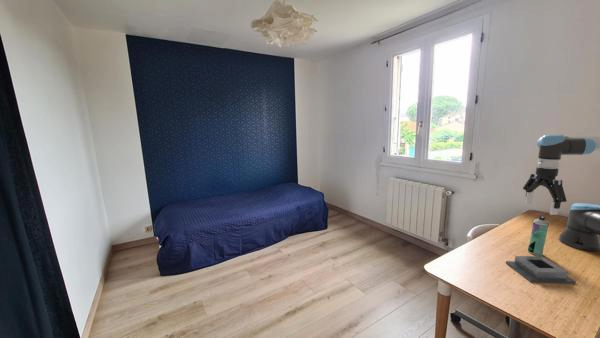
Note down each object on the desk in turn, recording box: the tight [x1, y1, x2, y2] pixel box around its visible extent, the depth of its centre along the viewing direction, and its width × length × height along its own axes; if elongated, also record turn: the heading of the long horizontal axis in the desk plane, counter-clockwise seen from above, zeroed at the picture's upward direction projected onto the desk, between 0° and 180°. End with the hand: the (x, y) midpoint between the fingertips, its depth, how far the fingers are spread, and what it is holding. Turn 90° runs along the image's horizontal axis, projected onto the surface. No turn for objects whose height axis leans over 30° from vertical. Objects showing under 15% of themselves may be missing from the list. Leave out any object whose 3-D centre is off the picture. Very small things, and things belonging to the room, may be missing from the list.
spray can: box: [527, 215, 550, 257], centre depth 124 cm, size 6×6×20 cm
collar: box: [505, 255, 577, 285], centre depth 110 cm, size 18×14×4 cm
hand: (540, 209), depth 121 cm, fingers open, 13 cm apart
